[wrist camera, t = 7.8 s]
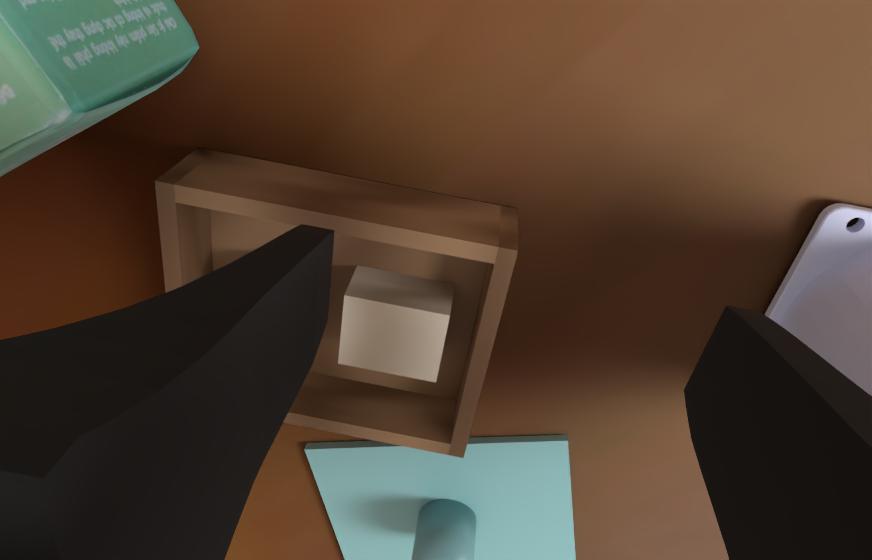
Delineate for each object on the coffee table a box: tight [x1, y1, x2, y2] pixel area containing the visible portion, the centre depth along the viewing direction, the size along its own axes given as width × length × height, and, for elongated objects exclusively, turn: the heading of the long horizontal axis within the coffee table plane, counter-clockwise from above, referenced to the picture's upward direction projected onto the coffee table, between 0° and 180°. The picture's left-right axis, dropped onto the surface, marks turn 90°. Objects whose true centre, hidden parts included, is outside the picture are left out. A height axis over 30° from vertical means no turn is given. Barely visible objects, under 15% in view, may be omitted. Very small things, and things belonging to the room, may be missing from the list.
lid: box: [304, 435, 576, 560], centre depth 29 cm, size 12×10×4 cm
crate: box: [155, 148, 518, 458], centre depth 22 cm, size 11×9×3 cm
